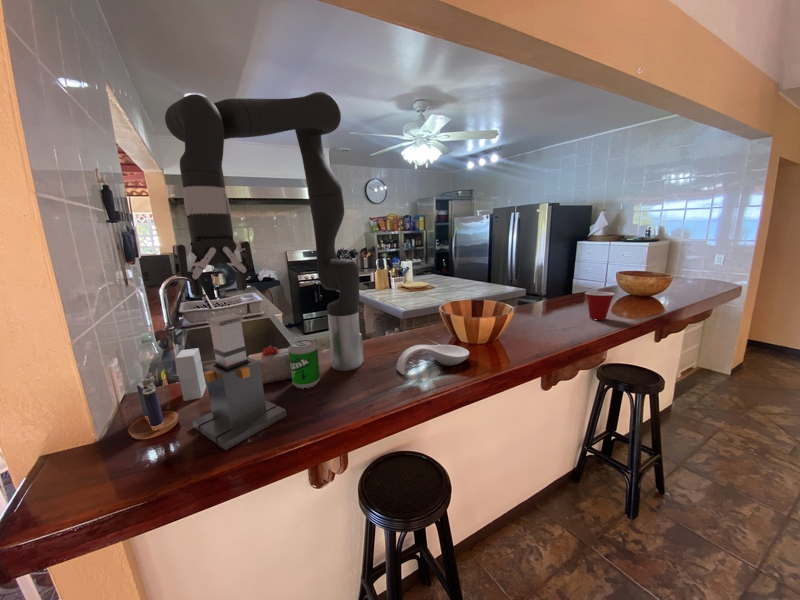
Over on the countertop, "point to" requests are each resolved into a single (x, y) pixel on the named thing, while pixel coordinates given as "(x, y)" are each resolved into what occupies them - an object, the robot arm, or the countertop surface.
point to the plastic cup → (599, 304)
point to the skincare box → (190, 374)
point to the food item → (273, 364)
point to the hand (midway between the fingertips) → (221, 293)
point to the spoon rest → (435, 354)
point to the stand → (236, 405)
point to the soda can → (304, 363)
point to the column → (228, 341)
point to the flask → (150, 402)
